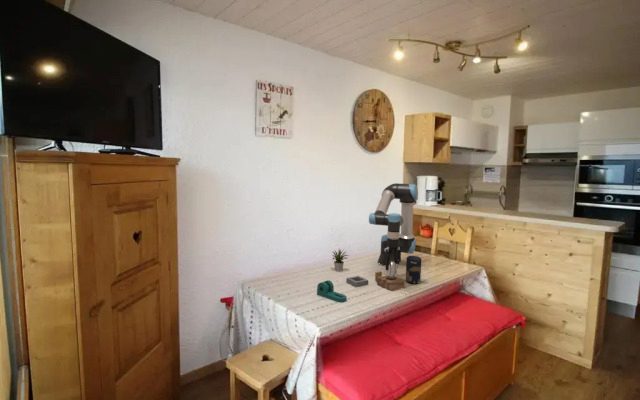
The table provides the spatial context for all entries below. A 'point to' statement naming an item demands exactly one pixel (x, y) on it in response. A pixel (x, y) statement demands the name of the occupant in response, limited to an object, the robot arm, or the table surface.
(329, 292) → the bracket
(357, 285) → the grey square frame
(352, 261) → the table surface
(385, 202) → the robot arm
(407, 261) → the canister
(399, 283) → the socket block
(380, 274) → the yellow t-shaped block
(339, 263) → the house plant
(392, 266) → the grey rounded rod
